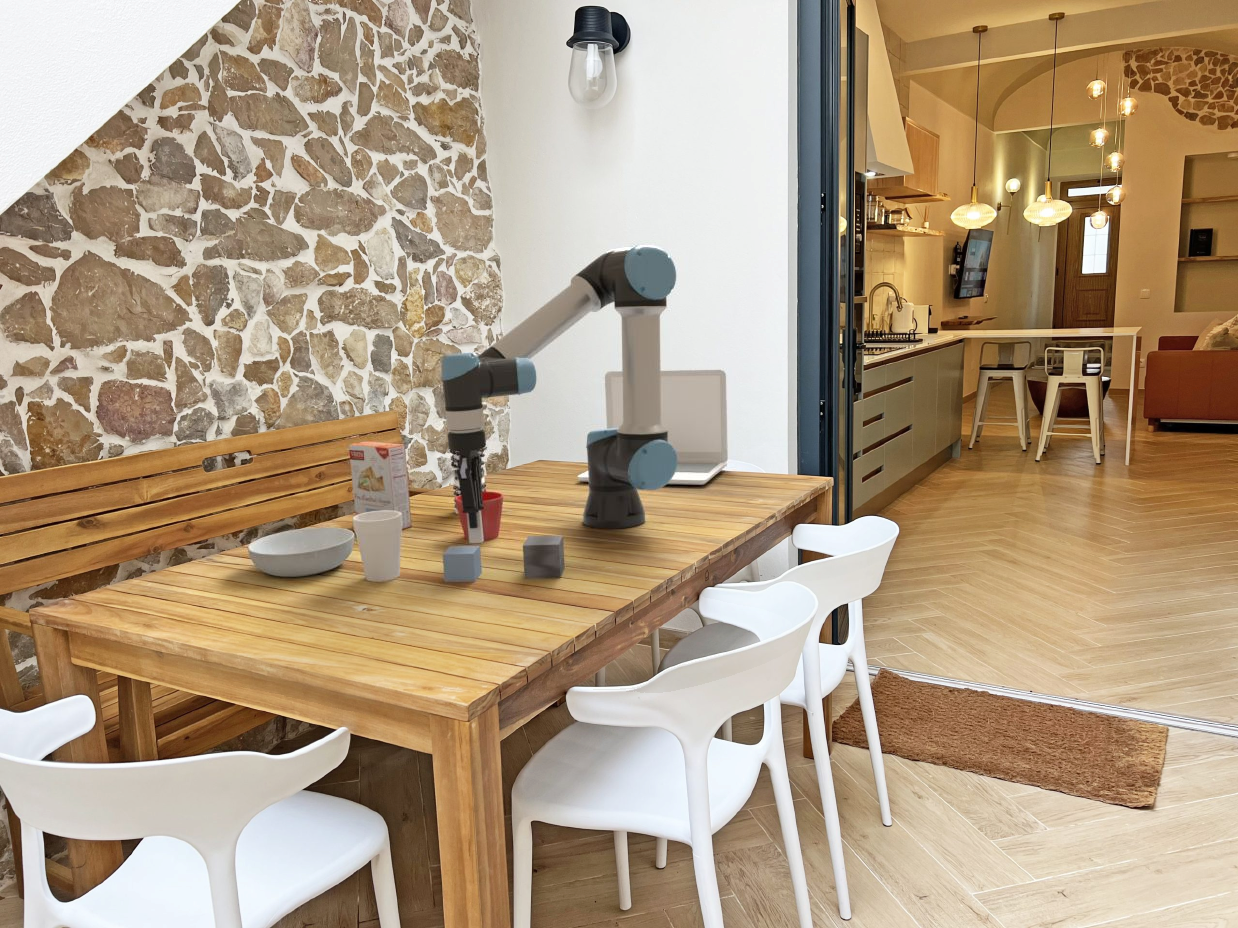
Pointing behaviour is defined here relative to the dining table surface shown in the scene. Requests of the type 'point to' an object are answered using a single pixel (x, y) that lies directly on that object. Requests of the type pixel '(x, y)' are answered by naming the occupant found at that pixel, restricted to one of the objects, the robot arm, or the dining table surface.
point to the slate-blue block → (462, 563)
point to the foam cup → (379, 543)
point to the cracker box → (380, 478)
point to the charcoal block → (543, 557)
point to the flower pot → (484, 514)
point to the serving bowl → (302, 551)
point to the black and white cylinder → (455, 466)
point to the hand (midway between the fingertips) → (476, 541)
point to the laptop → (684, 420)
